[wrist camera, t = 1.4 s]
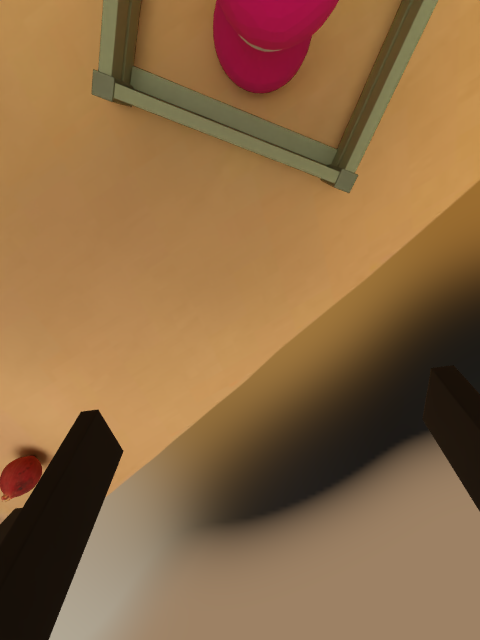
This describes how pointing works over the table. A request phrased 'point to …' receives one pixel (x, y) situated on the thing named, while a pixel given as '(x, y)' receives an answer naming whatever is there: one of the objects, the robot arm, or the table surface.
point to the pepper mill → (266, 39)
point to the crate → (341, 163)
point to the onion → (20, 477)
